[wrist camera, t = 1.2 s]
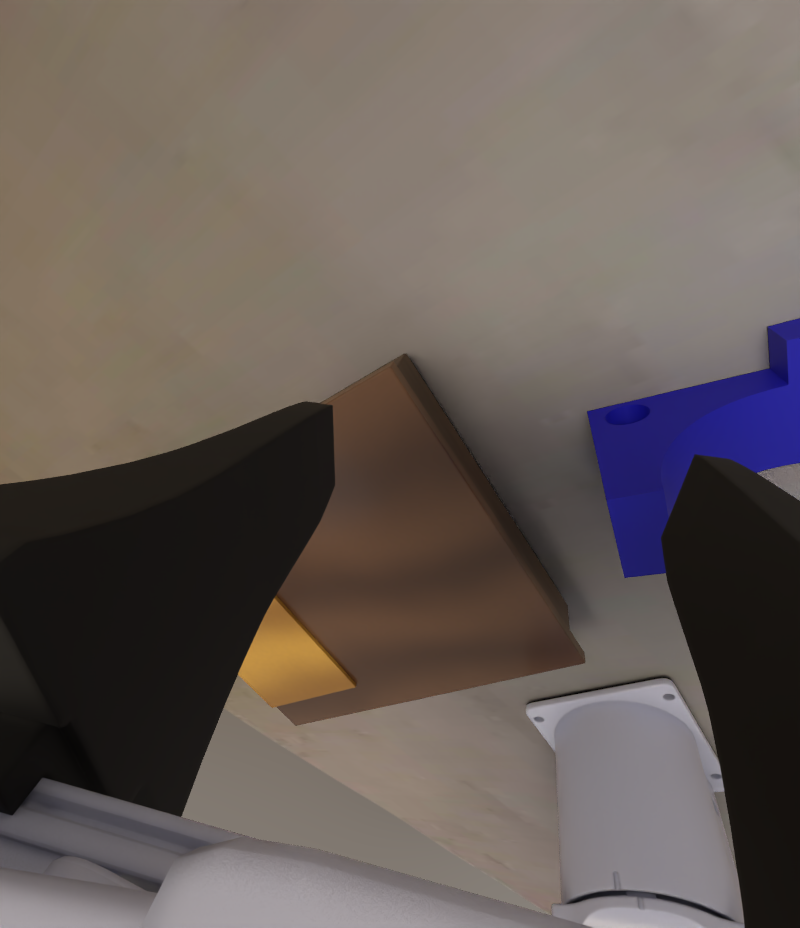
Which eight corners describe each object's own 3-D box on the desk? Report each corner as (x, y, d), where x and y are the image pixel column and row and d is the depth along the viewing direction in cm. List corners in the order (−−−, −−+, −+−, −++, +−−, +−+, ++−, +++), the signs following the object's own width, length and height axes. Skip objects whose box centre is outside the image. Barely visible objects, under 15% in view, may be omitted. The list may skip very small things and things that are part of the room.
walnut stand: (579, 601, 24) (586, 667, 21) (317, 672, 32) (294, 729, 29) (411, 333, 19) (388, 368, 16) (148, 492, 27) (98, 537, 24)
